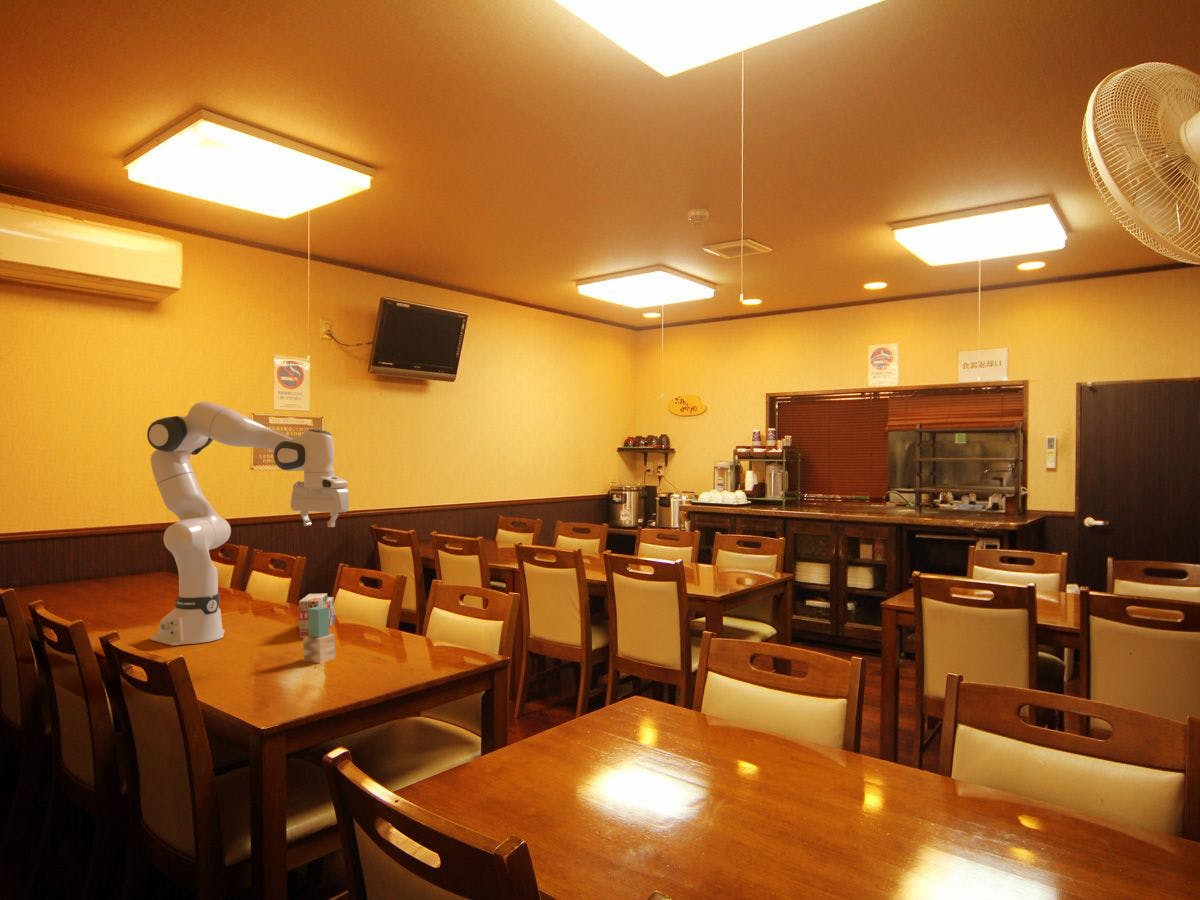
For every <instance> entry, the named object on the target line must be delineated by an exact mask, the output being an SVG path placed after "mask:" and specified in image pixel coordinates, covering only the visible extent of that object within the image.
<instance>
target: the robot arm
mask: <svg viewBox="0 0 1200 900" xmlns="http://www.w3.org/2000/svg"><path fill="white" fill-rule="evenodd" d="M146 435H147V436H146V438H147V441H148V443H149V445H150V446H152V447H153V449H155V450H154V451H153V452H152V453H151V455H150V465H151V470H152V474H153V477H154V481H155V484H156V486H157V488H158V490H159V494H160V496H161V498H162V500H163V503H164V505H165V507H166V508H167V510H169V511H170V512H172V513H173V514H175V516H177V518H178V519H179V521H177V522H175V523H173V524H171V525H170V526H168V527H167V528H166V529H165V531H164V533H163V543H164V546H165V548H166V549H167V550H168V551H169V552H170V553H171V554H172V556H173V558H174V561H175V563H176V567H177V571H178V586H179V587H178V593H179V594H178V596H177V597H174V598H172V600H173V601H172V602H175V605H174V608H173V609H172V610H171V611H170V612H168V613H167V614H165V616H163V617H162V619H160V621H159V625H158V632H157V633H155V634H153V635H151V636H150V637H149V640H150V641H153V642H158V643H161V644H164V645H165V644H166V645H168V646H180V645H181V646H182V645H191V644H192V645H193V644H203V643H209V642H213V641H218V640H220V639H222V638H223V637H224V636H225V635H224V634H225V631H226V630H225V629H224V628H223V621H222V620H223V619H222V612H221V611H222V610H221V608H220V607H219V605H220V602H221V601H220V600H221V597H220V593H219V570H218V567H216V566H215V565H214V563H213V562H212V559H211V555H210V550H214V549H217V548H219V547H220V546H222V545H224V544H225V543H226V542H228V540H229V539H230V536H231V534H232V528H231V525H230V523H229V522H228V521H227V520H226V519H225V518H223V517H222V516H221V515H220V514H218V512H216V510H215V509H214V507H213V506H212V505H211V504H210V502H209V501H208V499H207V497H206V496H205V494H204V493H203V491H202V489H201V486H200V484H199V481H198V479H197V476H196V474H195V472H194V470H193V467H192V465H191V462H190V457H191V455H194V456H196V455H198V454H199V453H200V452H202V450H203V449H205V448H206V447H208V446H209V445H210V444H211V443H212V442H213V441H215V442H218V443H220V444H223V445H226V446H232V447H240V448H242V447H243V448H244V447H245V448H262V449H266V450H268V451H269V450H270V451H272V452H273V461H274V463H275V465H276V466H277V467H278V468H279V469H281V470H283V471H288V472H294V471H295V472H296V471H297V472H298V471H301V472H303V480H302V481H300V480H298V481H296V482H295V483H294V484H293V485H292V491H291V497H290V509H291V510H292V511H293V512H297V511H298V512H300V516H301V519H302V520H303V526H304V527H306V526H307V527H311V526H312V519H310V518H309V514H310V512H317V513H318V512H319V513H322V512H323V513H329V516H330V519H329V520H327V527H328V528H334V527H336V521H337V518H338V517H339V513H347V512H348V510H349V508H350V496H349V491H348V489H347V488H348V485H349V483H348V480H346V479H344V478H341V477H340V476H337V475H335V469H334V460H335V442H334V438H333V437H334V436H333V434H332V433H331V432H329V431H327V430H321V429H315V428H313V429H312V428H310V429H307V430H305V431H304V432H303V433H302V434H300V435H297V436H295V437H293V436H289V435H287V434H284V433H281V432H279V431H277V430H274V429H272V428H270V427H267V426H265V425H263V424H261V423H260V422H257V421H255V420H254V419H251V418H250V417H248V416H246V415H244V414H242V413H240V412H238V411H236V410H234V409H232V408H230V407H227V406H224V405H221V404H217V403H214V402H209V401H199V402H196V403H194V404H193V405H192V406H191V407H190V409H189V410H188V413H187V415H186V416H179V415H174V416H168V417H163V418H159V419H156V420H154V421H153V422H152V423H151V424H150V425H149V427H148V428H147V432H146Z"/></svg>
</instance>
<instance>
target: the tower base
mask: <svg viewBox="0 0 1200 900" xmlns="http://www.w3.org/2000/svg"><path fill="white" fill-rule="evenodd" d="M333 659H336V646H335V647H332V648H329V649H326V650H323V651H320V652H319V651H312V650H304V649H303V662H309V663H315V664H323V663H325V662H327V661H331V660H333Z"/></svg>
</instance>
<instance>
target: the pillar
mask: <svg viewBox="0 0 1200 900" xmlns="http://www.w3.org/2000/svg"><path fill="white" fill-rule="evenodd" d="M329 634H330V627H329V607H321V606H317V607H313V608H309V609H308V637H316V638H320V637H323V636H327V635H329Z"/></svg>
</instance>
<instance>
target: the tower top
mask: <svg viewBox="0 0 1200 900" xmlns="http://www.w3.org/2000/svg"><path fill="white" fill-rule="evenodd" d="M335 637H336V635H335V634H334V633H329V635H327V636H323V637H320V638H316V637H308V636H306V637H303V638H302V639H303V641H302V642H303V648H302V649H303V651H304V650H312V651H319V652H320V651H323V650H326V649H329V648H332V647H335V648H336V646H335V645H336V644H335V642H336V638H335Z"/></svg>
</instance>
